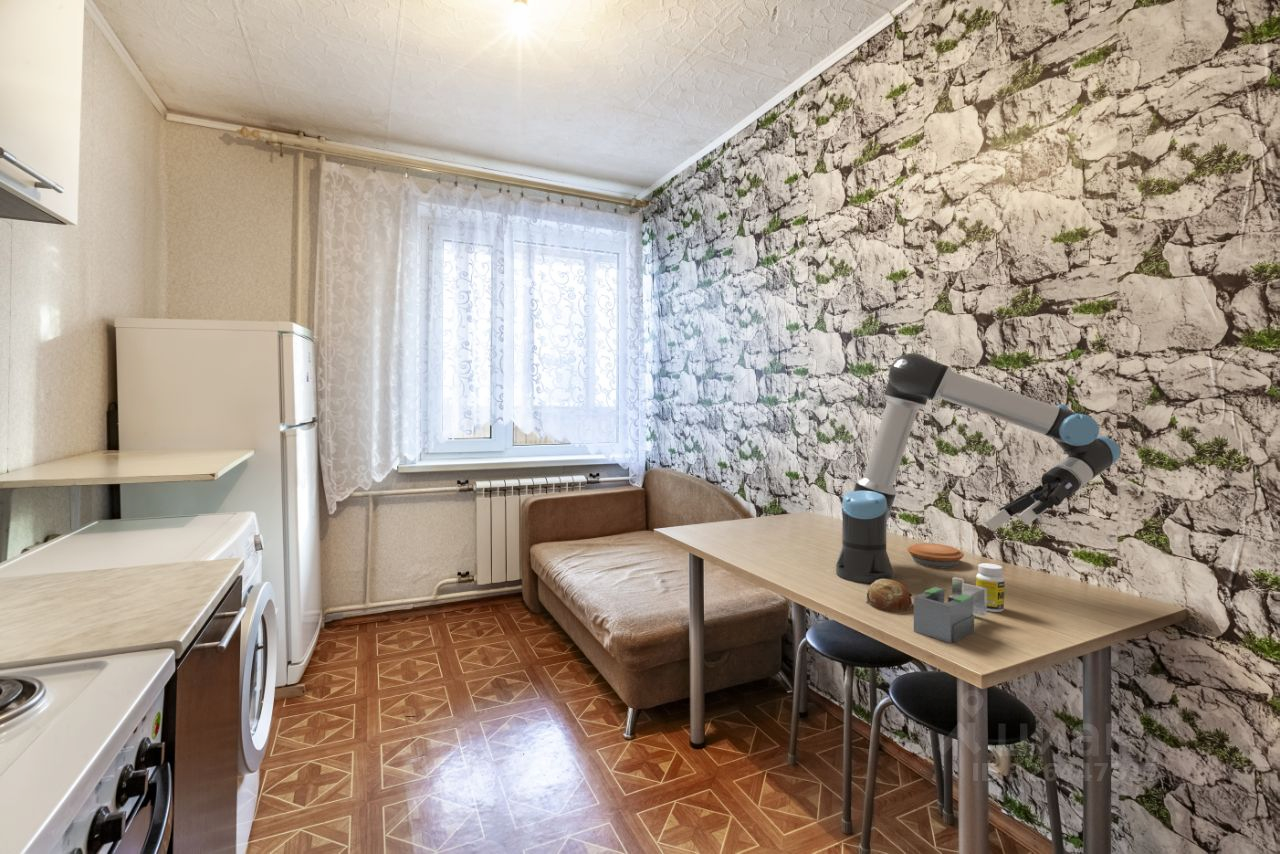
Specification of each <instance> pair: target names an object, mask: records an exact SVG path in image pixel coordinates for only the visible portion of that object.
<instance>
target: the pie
mask: <svg viewBox="0 0 1280 854" xmlns="http://www.w3.org/2000/svg"><path fill="white" fill-rule="evenodd" d="M906 550H907V551H908V553H909V554H910V555H911V557H912V559H913V560H915V561H916V562H915V561H914V562H915V563H917V564H919V563H920V565H922V564H923V565H922V566H926V565H928V566H927V567H931V566H933V567H932V568H940V567H948V568H953V566H954V567H956V566H957V564H958V563H959V561H960V560H961V559H962V558H963V557H964V556H965V554H964V553H965V552H962V551H961V550H959V549H958V548H956V547H953V546H950V545H947V544H940V543H915V544H913V545H910V546H907V548H906Z"/></svg>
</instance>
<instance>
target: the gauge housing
mask: <svg viewBox="0 0 1280 854" xmlns="http://www.w3.org/2000/svg"><path fill="white" fill-rule="evenodd" d="M973 600H974V597H973V596H969V595H965V594H963V595H960V596H958V597H956V598H954V599H953V600H952V601H950V602H948V601H947V602H945V588H940V587H936V586H934V587H932V588H929V589H927V590H924V592H922V593H919V594H917V595H914V596H913V632H914V631H915V633H917V632H918V634H921V635H924V636H927V637H931V638H933V639H936V640H939V641H942V642H945V643H949V644H952V643H955V642H957V640H958V641H959V640H961V639H964V638H965V637H967V636H969V635H970V633H971V634H972V632H973V633H974V632H975V615H974V613H973ZM968 634H969V635H968Z"/></svg>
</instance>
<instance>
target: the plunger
mask: <svg viewBox="0 0 1280 854" xmlns="http://www.w3.org/2000/svg"><path fill="white" fill-rule="evenodd" d="M951 581H952V583H951V584H952V587H951V590H952V591H951V594H952V595H949V596H948V597H947V603H948V602H950V601H952V600H953V599H954V598H956V597H958V596H960V595H963V594H965V595H969V596H973V597H974V600H973V614H977V615H980V616H983V617H985V616H987V614H988V611H987V588H983V587H979V586H976V584H975V585H974V584H970V583H966V582H965V579H964V578H961V577H956V576H954V577H952V579H951Z"/></svg>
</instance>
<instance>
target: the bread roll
mask: <svg viewBox="0 0 1280 854" xmlns="http://www.w3.org/2000/svg"><path fill="white" fill-rule="evenodd" d="M912 595H913V594H912V593H911V592H910V591H909V590H908V589H907V588H906V587H905V586H904V585H903V583H901V582H899V581H896V580H893V579H892V580H889V579H879V580H876V581H875V582H873V583H870V585H869V587H868V588H867V593H866V600H865V602H866V603H867V602H868V604H869V605H870V606H871V605H872V606H871V607H874V608H875V609H877V608H878V610H881V609H882V611H886V610H888V612H901V610H902V611H907V610H908V608H909V609H910V608H911V606H912V605H913V600H912V598H911V597H912Z"/></svg>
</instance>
